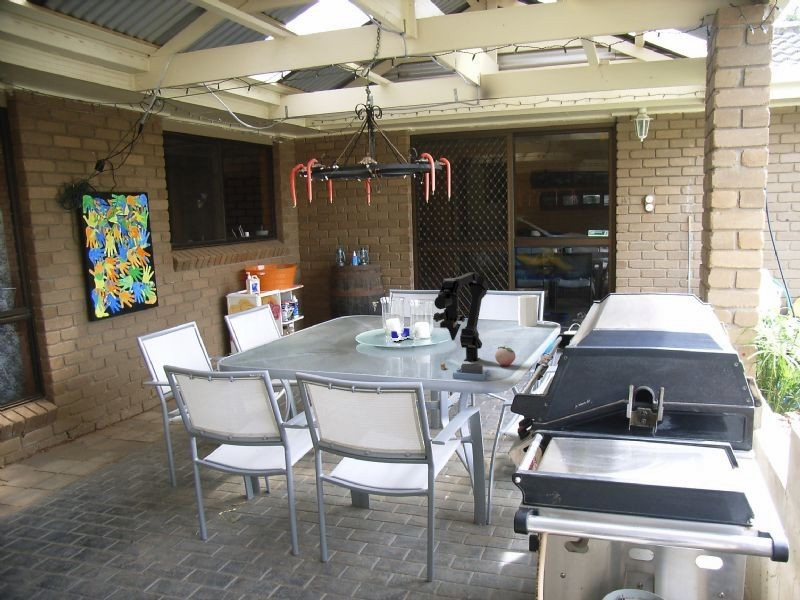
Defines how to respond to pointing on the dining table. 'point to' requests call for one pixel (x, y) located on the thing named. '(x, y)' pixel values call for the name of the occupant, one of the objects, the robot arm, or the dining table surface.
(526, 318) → the cup
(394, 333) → the cable clip
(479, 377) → the separate blue rectangular blocks
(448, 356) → the dining table surface
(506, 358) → the decorative fruit
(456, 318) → the robot arm
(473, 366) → the tall grey block
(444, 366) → the tan wooden block
